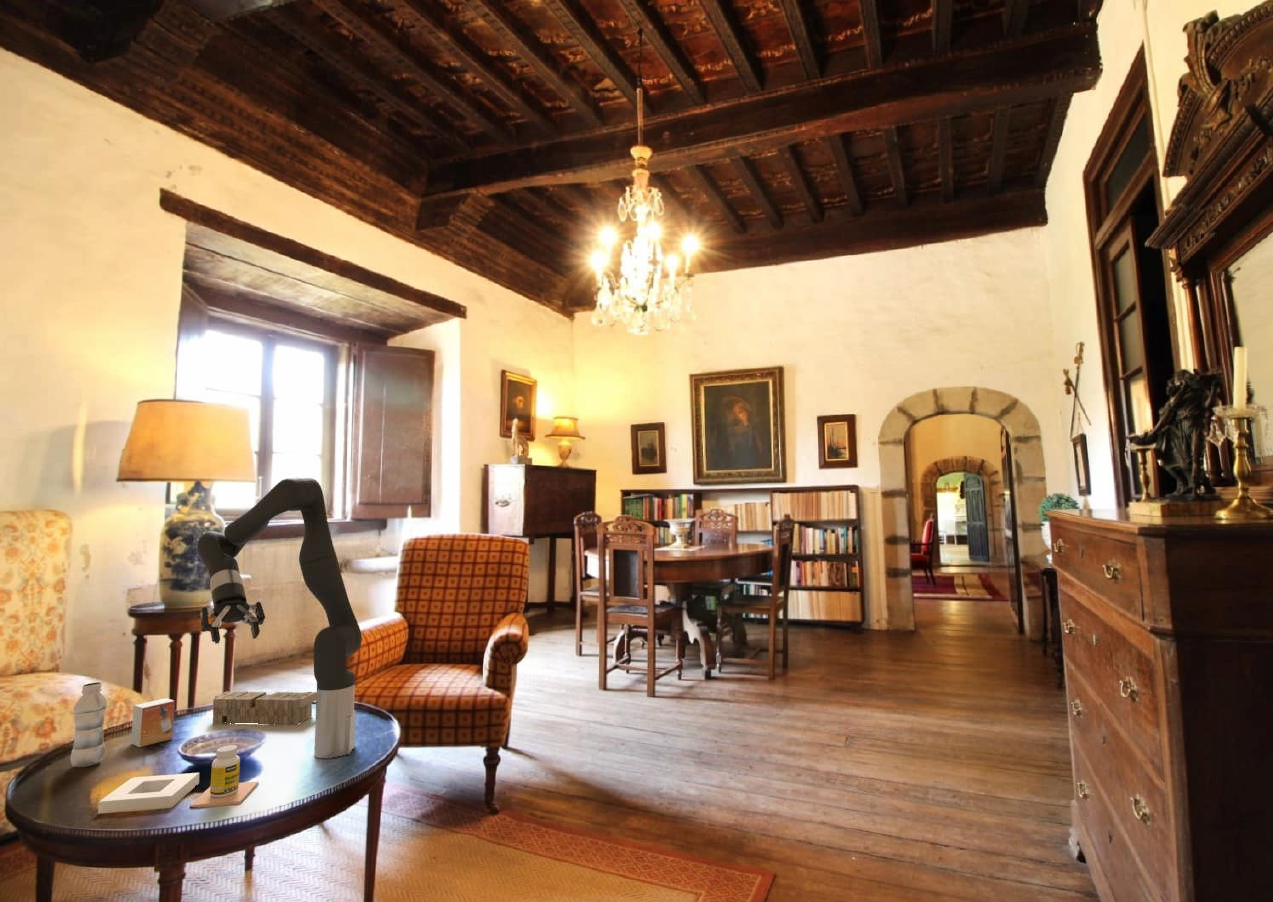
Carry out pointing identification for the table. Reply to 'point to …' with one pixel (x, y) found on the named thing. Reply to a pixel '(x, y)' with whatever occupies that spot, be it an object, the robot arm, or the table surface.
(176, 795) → the block
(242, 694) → the block tower
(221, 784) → the supplement bottle
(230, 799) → the terracotta tile
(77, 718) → the plastic bottle
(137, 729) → the small box
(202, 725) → the table surface
